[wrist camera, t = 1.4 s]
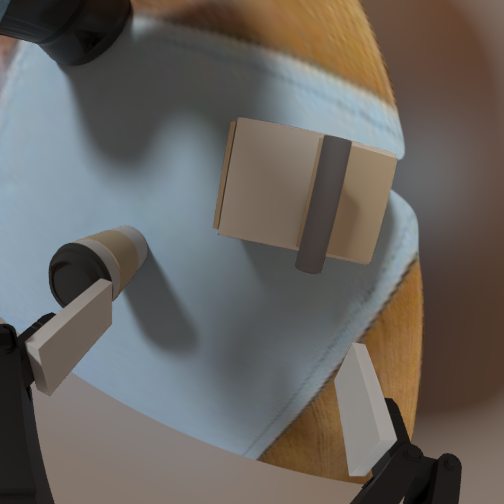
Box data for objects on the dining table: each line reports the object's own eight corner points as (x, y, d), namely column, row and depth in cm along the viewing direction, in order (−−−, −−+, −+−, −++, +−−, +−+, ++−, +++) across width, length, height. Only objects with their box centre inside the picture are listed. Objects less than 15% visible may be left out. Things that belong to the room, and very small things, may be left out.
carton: (243, 123, 36) (231, 114, 28) (372, 151, 36) (396, 152, 27) (226, 215, 40) (211, 233, 32) (350, 241, 40) (367, 265, 31)
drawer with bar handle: (315, 136, 28) (326, 131, 21) (395, 158, 28) (428, 162, 20) (292, 244, 31) (295, 272, 24) (369, 261, 31) (391, 291, 24)
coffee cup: (165, 263, 43) (117, 314, 29) (120, 284, 45) (66, 334, 31) (136, 207, 41) (73, 235, 27) (92, 233, 43) (28, 267, 29)
